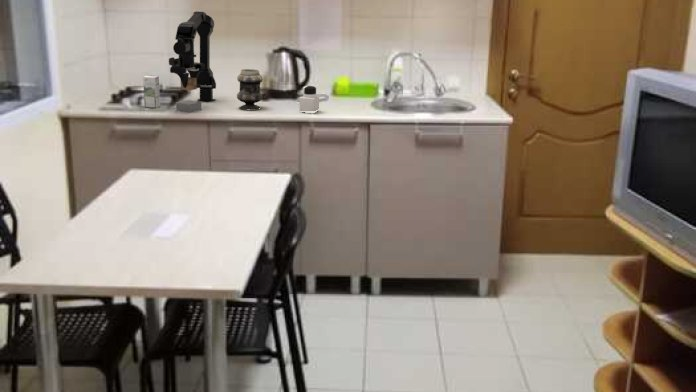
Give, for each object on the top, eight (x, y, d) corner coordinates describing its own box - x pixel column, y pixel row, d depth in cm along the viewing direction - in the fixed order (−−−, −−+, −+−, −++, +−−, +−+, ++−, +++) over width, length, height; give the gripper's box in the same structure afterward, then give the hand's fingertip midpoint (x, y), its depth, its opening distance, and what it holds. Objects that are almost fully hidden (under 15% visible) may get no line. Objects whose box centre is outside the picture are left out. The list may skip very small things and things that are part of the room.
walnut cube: (187, 87, 341) (187, 77, 340) (196, 89, 339) (196, 78, 337) (180, 89, 337) (180, 78, 335) (189, 90, 335) (189, 79, 333)
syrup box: (160, 106, 347) (159, 75, 343) (156, 108, 342) (154, 76, 337) (148, 105, 348) (147, 74, 343) (144, 107, 342) (142, 76, 338)
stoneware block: (188, 108, 346) (188, 99, 345) (201, 110, 342) (201, 102, 341) (176, 110, 340) (176, 102, 338) (189, 113, 336) (189, 104, 334)
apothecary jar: (268, 108, 350) (268, 70, 345) (248, 111, 342) (247, 72, 336) (251, 104, 358) (251, 67, 352) (231, 107, 349) (231, 69, 344)
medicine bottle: (319, 111, 348) (319, 86, 345) (313, 114, 342) (314, 88, 338) (305, 110, 351) (305, 84, 347) (299, 112, 344) (299, 86, 341)
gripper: (186, 49, 344) (187, 82, 349) (159, 52, 328) (161, 87, 333) (205, 51, 340) (206, 85, 344) (179, 54, 324) (181, 90, 328)
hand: (188, 87), depth 338 cm, fingers closed on walnut cube, 5 cm apart
